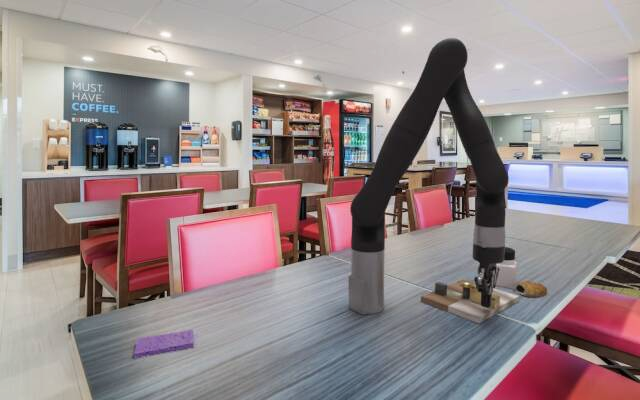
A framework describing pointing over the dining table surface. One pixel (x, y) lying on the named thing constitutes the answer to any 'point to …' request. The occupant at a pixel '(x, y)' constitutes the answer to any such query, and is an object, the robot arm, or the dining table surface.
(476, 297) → the latch bar
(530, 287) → the pastry
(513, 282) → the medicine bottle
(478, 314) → the door board
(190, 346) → the sponges
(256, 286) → the dining table surface
